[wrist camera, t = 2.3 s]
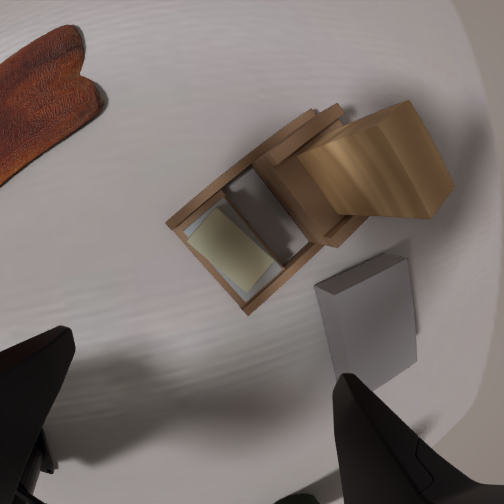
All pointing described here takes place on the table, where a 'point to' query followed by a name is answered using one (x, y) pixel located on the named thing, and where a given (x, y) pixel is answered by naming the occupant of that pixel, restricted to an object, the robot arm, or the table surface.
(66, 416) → the table surface
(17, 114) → the wooden tablet
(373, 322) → the plinth
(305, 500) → the potion bottle
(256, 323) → the table surface
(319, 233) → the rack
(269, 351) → the table surface
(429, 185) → the oak block
